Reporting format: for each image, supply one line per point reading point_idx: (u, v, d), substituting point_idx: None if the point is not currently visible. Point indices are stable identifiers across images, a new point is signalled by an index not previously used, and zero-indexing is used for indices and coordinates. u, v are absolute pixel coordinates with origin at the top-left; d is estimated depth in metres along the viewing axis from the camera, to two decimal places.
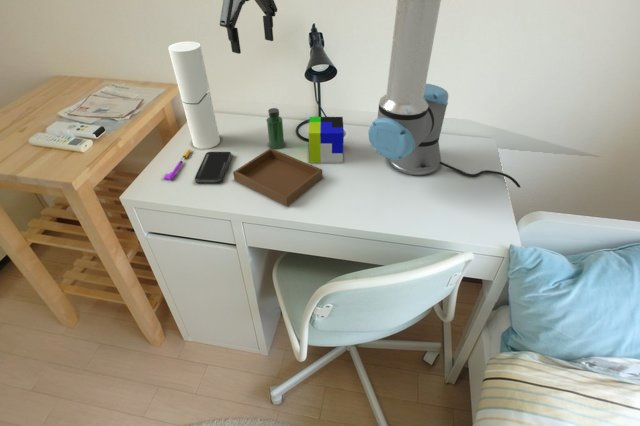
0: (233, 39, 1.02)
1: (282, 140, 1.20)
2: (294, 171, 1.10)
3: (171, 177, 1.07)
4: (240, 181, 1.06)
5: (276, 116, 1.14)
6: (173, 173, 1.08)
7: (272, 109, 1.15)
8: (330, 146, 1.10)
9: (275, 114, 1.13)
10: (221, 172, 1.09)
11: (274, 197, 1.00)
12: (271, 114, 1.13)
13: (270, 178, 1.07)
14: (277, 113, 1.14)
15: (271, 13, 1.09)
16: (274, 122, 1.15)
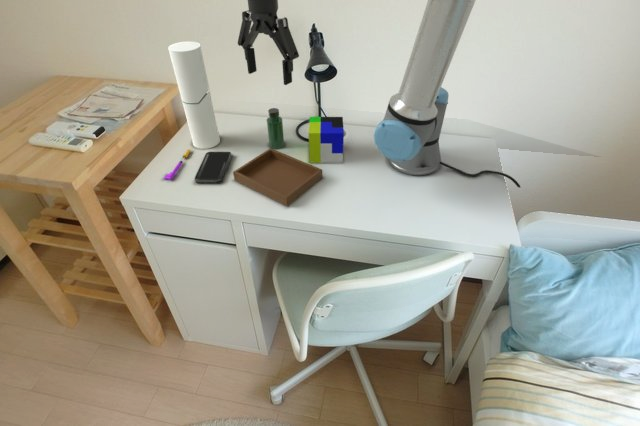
0: (246, 58, 1.08)
1: (282, 140, 1.20)
2: (294, 171, 1.10)
3: (171, 177, 1.07)
4: (240, 181, 1.06)
5: (276, 116, 1.14)
6: (173, 173, 1.08)
7: (272, 109, 1.15)
8: (330, 146, 1.10)
9: (275, 114, 1.13)
10: (221, 172, 1.09)
11: (274, 197, 1.00)
12: (271, 114, 1.13)
13: (270, 178, 1.07)
14: (277, 113, 1.14)
15: (285, 58, 0.99)
16: (274, 122, 1.15)
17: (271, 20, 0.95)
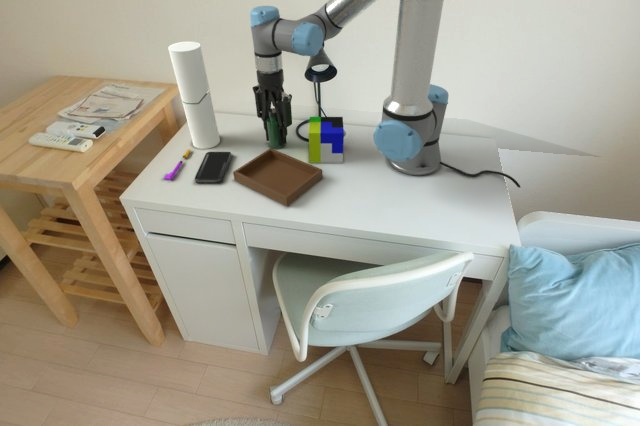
0: (265, 128, 1.20)
1: None
2: (294, 171, 1.10)
3: (171, 177, 1.07)
4: (240, 181, 1.06)
5: (276, 116, 1.14)
6: (173, 173, 1.08)
7: (272, 109, 1.15)
8: (330, 146, 1.10)
9: (275, 114, 1.13)
10: (221, 172, 1.09)
11: (274, 197, 1.00)
12: (271, 114, 1.13)
13: (270, 178, 1.07)
14: None
15: (280, 125, 1.14)
16: (274, 122, 1.15)
17: (278, 92, 1.07)
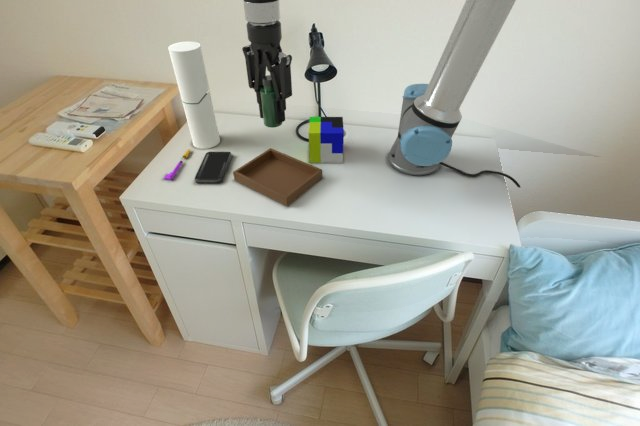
0: (258, 102, 0.96)
1: None
2: (294, 171, 1.10)
3: (171, 177, 1.07)
4: (240, 181, 1.06)
5: (272, 85, 0.91)
6: (173, 173, 1.08)
7: (267, 76, 0.91)
8: (330, 146, 1.10)
9: (271, 83, 0.90)
10: (221, 172, 1.09)
11: (274, 197, 1.00)
12: (266, 82, 0.90)
13: (270, 178, 1.07)
14: None
15: (277, 96, 0.90)
16: (269, 92, 0.91)
17: (274, 52, 0.84)
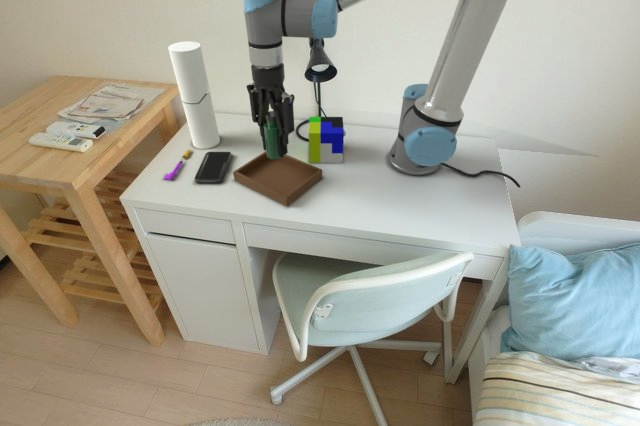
0: (261, 135, 1.00)
1: None
2: (294, 171, 1.10)
3: (171, 177, 1.07)
4: (240, 181, 1.06)
5: (275, 121, 0.94)
6: (173, 173, 1.08)
7: (270, 112, 0.95)
8: (330, 146, 1.10)
9: (274, 119, 0.94)
10: (221, 172, 1.09)
11: (274, 197, 1.00)
12: (269, 118, 0.94)
13: (270, 178, 1.07)
14: None
15: (280, 131, 0.94)
16: (272, 128, 0.95)
17: (277, 92, 0.88)
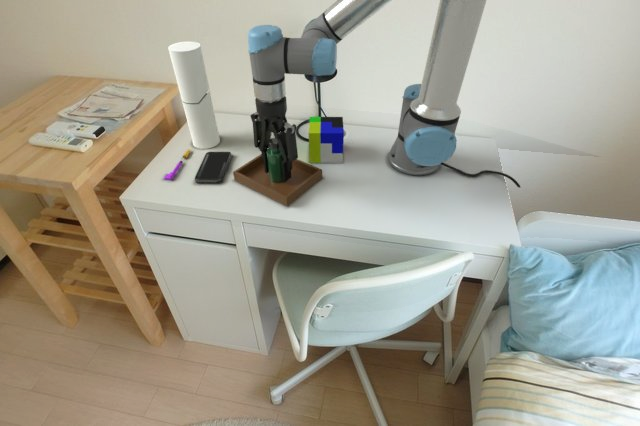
0: (263, 159, 1.06)
1: None
2: (294, 171, 1.10)
3: (171, 177, 1.07)
4: (240, 181, 1.06)
5: (277, 147, 0.99)
6: (173, 173, 1.08)
7: (273, 139, 1.00)
8: (330, 146, 1.10)
9: (277, 146, 0.99)
10: (221, 172, 1.09)
11: (274, 197, 1.00)
12: (272, 145, 0.99)
13: None
14: None
15: (284, 159, 0.99)
16: (275, 154, 1.00)
17: (280, 123, 0.93)
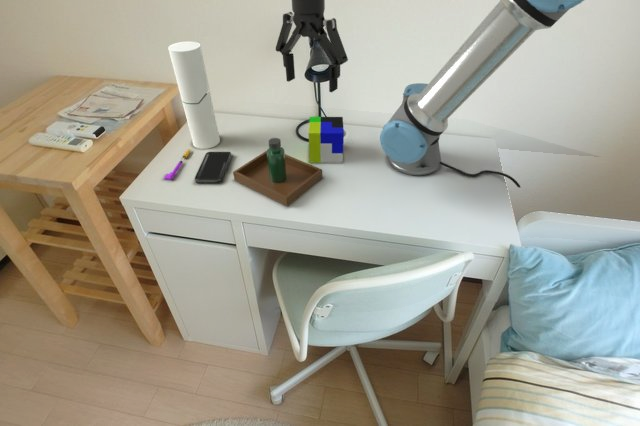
0: (285, 65, 0.99)
1: (284, 173, 1.05)
2: (294, 171, 1.10)
3: (171, 177, 1.07)
4: (240, 181, 1.06)
5: (277, 147, 0.99)
6: (173, 173, 1.08)
7: (273, 139, 1.00)
8: (330, 146, 1.10)
9: (277, 146, 0.99)
10: (221, 172, 1.09)
11: (274, 197, 1.00)
12: (272, 145, 0.99)
13: None
14: (279, 144, 0.99)
15: (332, 62, 0.90)
16: (275, 154, 1.00)
17: (318, 22, 0.86)
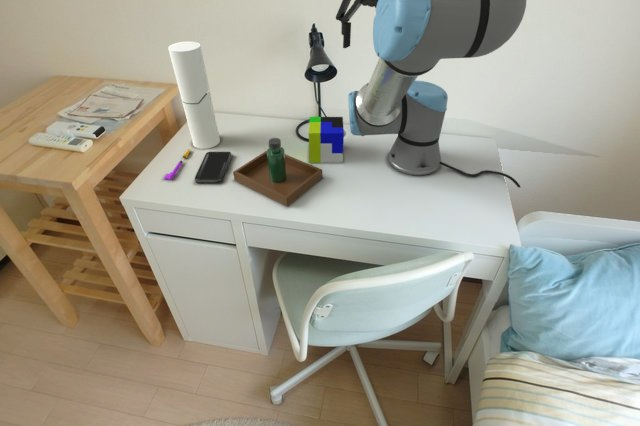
0: (342, 33, 1.10)
1: (284, 173, 1.05)
2: (294, 171, 1.10)
3: (171, 177, 1.07)
4: (240, 181, 1.06)
5: (277, 147, 0.99)
6: (173, 173, 1.08)
7: (273, 139, 1.00)
8: (330, 146, 1.10)
9: (277, 146, 0.99)
10: (221, 172, 1.09)
11: (274, 197, 1.00)
12: (272, 145, 0.99)
13: None
14: (279, 144, 0.99)
15: None
16: (275, 154, 1.00)
17: None
